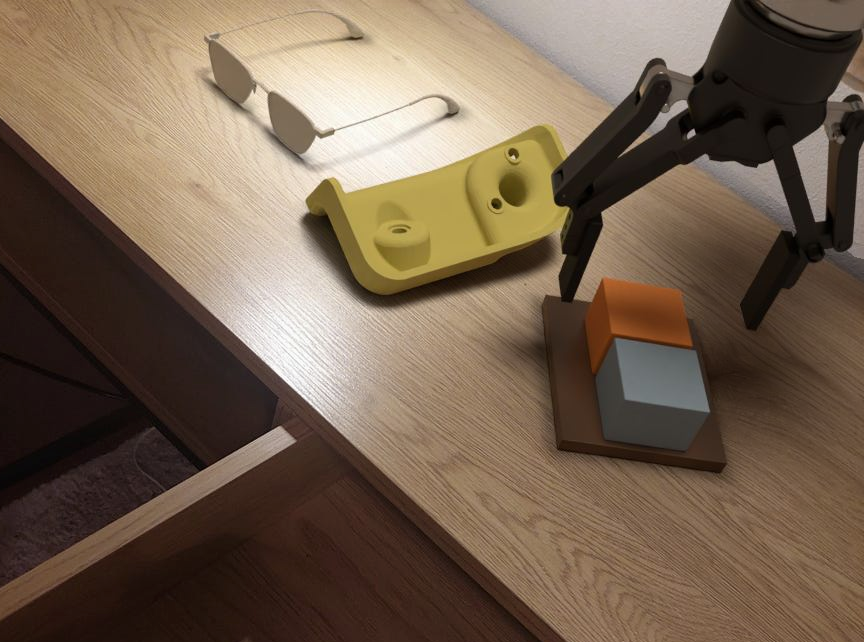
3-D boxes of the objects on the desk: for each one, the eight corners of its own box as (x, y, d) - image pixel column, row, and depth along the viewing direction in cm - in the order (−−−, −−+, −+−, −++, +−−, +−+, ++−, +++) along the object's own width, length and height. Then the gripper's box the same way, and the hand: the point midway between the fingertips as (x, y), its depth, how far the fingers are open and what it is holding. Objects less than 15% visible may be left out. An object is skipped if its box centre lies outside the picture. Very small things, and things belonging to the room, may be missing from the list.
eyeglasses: (199, 73, 92) (201, 28, 88) (354, 30, 101) (362, -13, 98) (313, 172, 86) (320, 128, 83) (466, 117, 96) (478, 75, 92)
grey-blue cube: (673, 390, 78) (696, 350, 74) (685, 452, 74) (710, 412, 71) (594, 378, 77) (614, 337, 74) (603, 440, 73) (625, 399, 70)
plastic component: (377, 287, 76) (322, 159, 76) (346, 326, 83) (296, 209, 83) (596, 221, 83) (545, 105, 83) (551, 262, 90) (504, 154, 90)
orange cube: (659, 330, 81) (680, 289, 78) (670, 386, 78) (693, 345, 75) (583, 318, 81) (602, 276, 77) (591, 374, 77) (611, 332, 74)
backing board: (688, 328, 84) (693, 318, 83) (721, 472, 75) (727, 463, 74) (541, 304, 82) (545, 294, 81) (557, 449, 73) (562, 439, 73)
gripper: (592, -3, 55) (488, 313, 72) (1032, 81, 58) (833, 365, 75) (578, -70, 59) (483, 243, 76) (987, 12, 63) (809, 294, 79)
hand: (657, 304), depth 76 cm, fingers open, 13 cm apart
